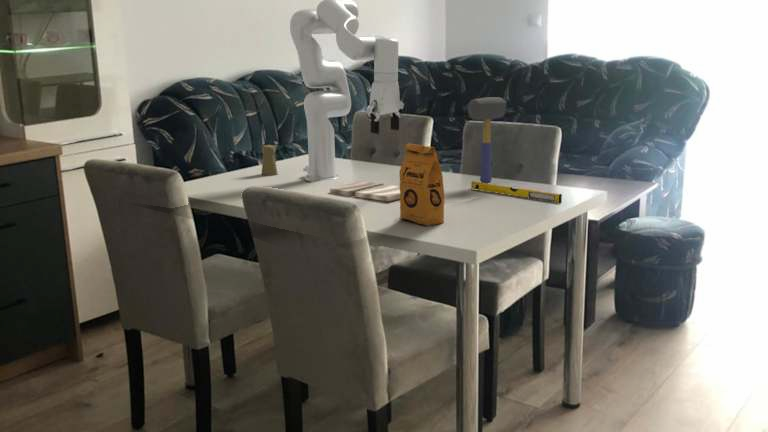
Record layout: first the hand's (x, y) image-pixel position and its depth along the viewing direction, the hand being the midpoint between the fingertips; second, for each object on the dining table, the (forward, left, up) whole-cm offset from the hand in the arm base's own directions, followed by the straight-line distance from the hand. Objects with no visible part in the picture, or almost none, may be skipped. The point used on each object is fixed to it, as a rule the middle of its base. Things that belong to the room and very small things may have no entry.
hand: (384, 131), depth 265 cm
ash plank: (+4, -4, -20) cm, 21 cm away
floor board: (-1, -4, -21) cm, 21 cm away
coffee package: (+32, -21, -21) cm, 44 cm away
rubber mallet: (+16, +35, -21) cm, 44 cm away
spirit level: (+34, +25, -22) cm, 47 cm away
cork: (-59, +2, -21) cm, 63 cm away
